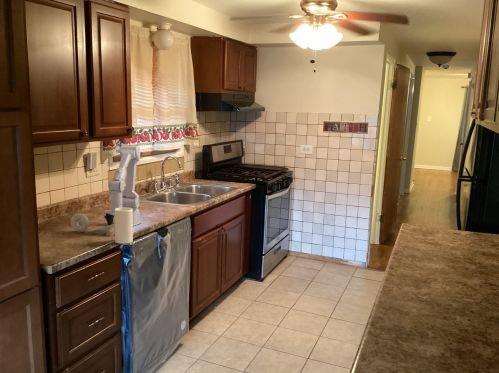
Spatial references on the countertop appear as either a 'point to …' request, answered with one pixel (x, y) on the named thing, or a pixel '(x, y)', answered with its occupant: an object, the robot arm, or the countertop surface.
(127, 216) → the cup
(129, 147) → the robot arm
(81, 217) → the donut
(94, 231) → the mat
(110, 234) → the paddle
